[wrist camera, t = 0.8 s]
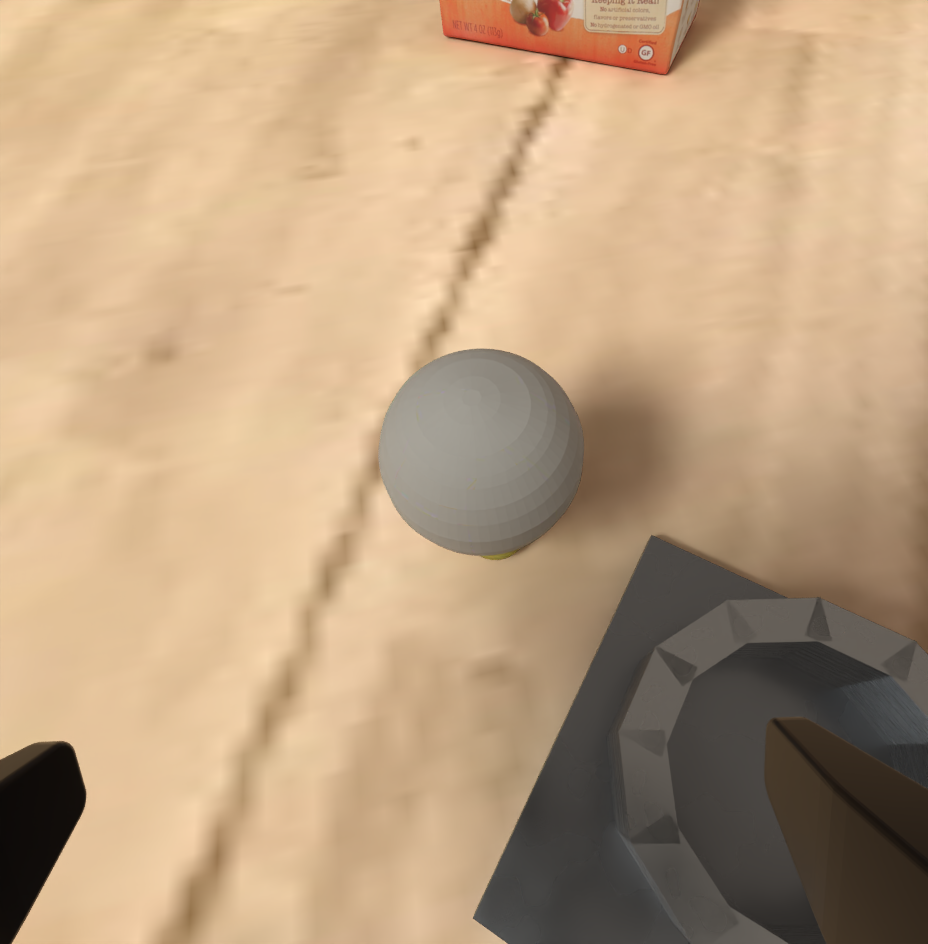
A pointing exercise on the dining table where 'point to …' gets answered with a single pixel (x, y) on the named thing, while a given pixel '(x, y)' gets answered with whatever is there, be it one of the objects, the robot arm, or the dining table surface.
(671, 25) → the cracker box
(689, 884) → the bulb holder
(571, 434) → the light bulb
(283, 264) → the dining table surface
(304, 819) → the dining table surface
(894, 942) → the robot arm
